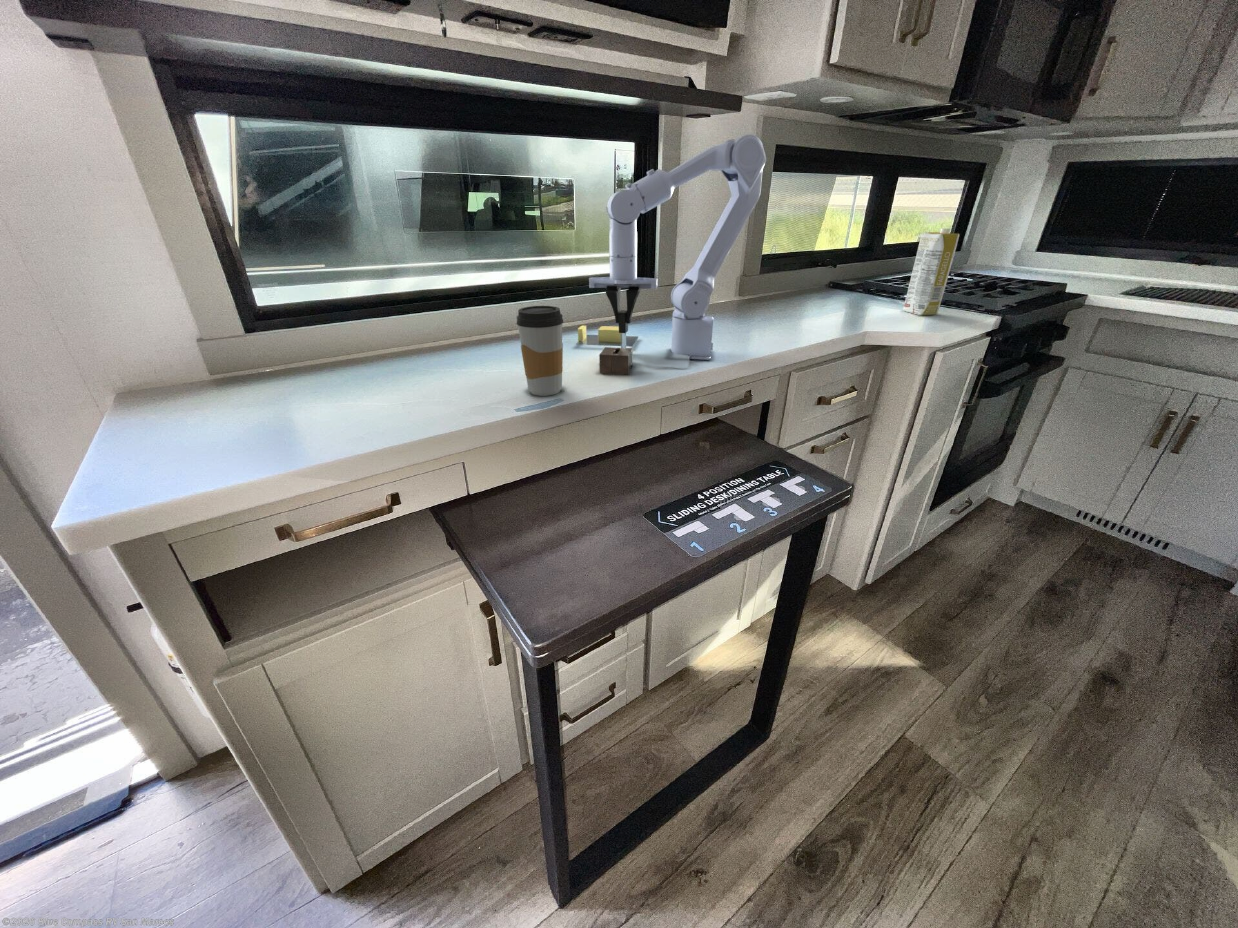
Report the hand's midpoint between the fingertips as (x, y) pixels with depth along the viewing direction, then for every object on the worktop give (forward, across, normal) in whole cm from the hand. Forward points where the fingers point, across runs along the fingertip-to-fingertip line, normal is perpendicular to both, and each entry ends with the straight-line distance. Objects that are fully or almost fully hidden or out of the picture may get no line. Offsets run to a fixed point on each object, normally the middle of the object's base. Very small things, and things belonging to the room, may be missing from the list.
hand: (623, 322), depth 112 cm
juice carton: (+8, +83, +64) cm, 106 cm away
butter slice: (+7, -12, +12) cm, 19 cm away
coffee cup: (+8, -11, -24) cm, 28 cm away
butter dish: (+8, -6, +12) cm, 16 cm away
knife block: (+8, 0, -9) cm, 12 cm away
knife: (+7, 0, 0) cm, 7 cm away
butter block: (+7, -5, +12) cm, 15 cm away
